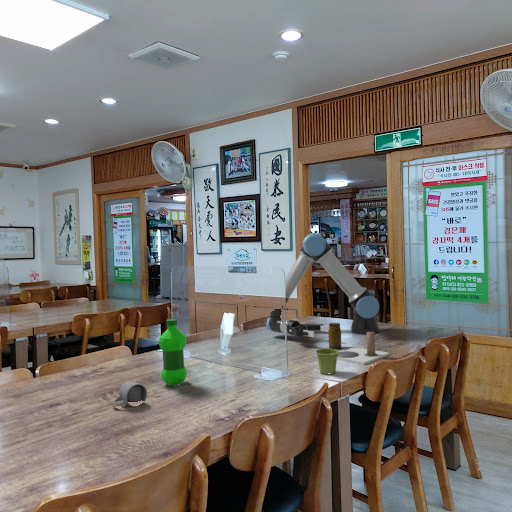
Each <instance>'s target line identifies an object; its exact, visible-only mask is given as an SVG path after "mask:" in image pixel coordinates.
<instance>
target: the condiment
mask: <svg viewBox="0 0 512 512" xmlns="http://www.w3.org/2000/svg"><path fill="white" fill-rule="evenodd" d="M328 327H329V330H328V332H327V333H328V335H327V336H328V347H325V349H335V350H338V351H344V350H347V349H348V347H345V346H342V330H341V323H340V322H330V323H329V324H328Z"/></svg>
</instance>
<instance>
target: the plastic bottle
mask: <svg viewBox="0 0 512 512" xmlns="http://www.w3.org/2000/svg"><path fill="white" fill-rule="evenodd" d="M165 325H166V326H167V329H166V330H164V332H163V333H162V334H161V336H159V339H158V346H159V348H160V349H161V350H162V358H163V359H162V363H163V369H162V372H161V380H162V381H163V383H165V384H166V385H168V386H169V385H178V384H181V385H182V384H183V383H184V382H185V380H186V378H187V375H188V371H187V368H186V366H185V360H184V359H185V356H184V355H185V354H184V348H185V347H186V345H187V336H186V335H185V333H183V332H182V331H181V330H180V329H178V328H177V325H178V319H177V318H169V319H166V320H165ZM178 386H179V385H178Z"/></svg>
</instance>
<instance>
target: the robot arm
mask: <svg viewBox="0 0 512 512" xmlns="http://www.w3.org/2000/svg"><path fill="white" fill-rule="evenodd" d="M313 261H314V262H315V263H318V264H320V266H322V267H323V268H324V270H325V272H327V274H328V275H329V277H331V278H332V280H334V282H335V283H336V284H337V285H338V286H339V288H340V289H341V290H342V292H344V293H345V295H346V296H347V297H348V303H349V304H350V306H352V307H353V321H352V323H351V327H350V329H351V330H350V331H351V333H354V334H359V335H360V334H361V335H367V332H375V334H376V333H380V326H379V323H378V321H377V318H376V317H377V316H376V315H377V314H378V313H379V310H380V303H379V301H378V299H377V298H376V292H375V290H374V289H368V288H367V287H363V286H362V285H360V284H359V282H358V281H357V279H356V278H354V276H353V275H352V274H351V272H350V271H348V269H347V268H346V267H345V266H344V264H343V263H342V262H341V261H340V260H339V259H338V258H337V256H336V255H335V254H334V253H333V247H332V246H331V245H330V244H329V243H328V241H327V240H326V239H325V237H324V236H323V235H322V234H319V232H318V233H317V232H311V233H309V234H307V235H306V236H305V237H304V239H303V240H302V246H301V248H300V250H299V255H298V257H297V259H296V260H295V262H294V264H293V266H292V267H291V268H290V270H289V272H288V274H287V276H286V277H285V279H284V280H285V283H286V304H287V303H288V301H289V300H290V298H291V296H292V295H293V293H294V291H295V290H296V288H297V286H298V285H299V283H300V281H301V280H302V278H303V276H305V273H306V271H307V270H308V268H309V267H310V265H311V263H312V262H313ZM282 308H283V306H282ZM281 312H282V311H281V309H275V310H274V311H272V312H270V311H269V313H270V315H269V317H268V318H267V319H266V322H265V326H266V329H267V330H268V331H270V332H273V333H282V334H284V333H283V332H284V329H283V326H282V322H281V318H280V315H281ZM285 319H286V325H287V335H286V336H288V335H292V336H296V337H300V338H303V337H310V338H315V331H320V332H325V333H326V332H327V333H328V330H329V325H324V324H323V323H320V324H319V323H317V324H315V323H314V324H313V323H305V324H304V323H300V322H299V320H294V319H287V318H285Z"/></svg>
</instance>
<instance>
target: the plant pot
mask: <svg viewBox="0 0 512 512" xmlns="http://www.w3.org/2000/svg"><path fill="white" fill-rule="evenodd" d="M339 352H340V350H335V349H327V348H319V349H316V350H315V354H316V357H317V362H318V363H317V364H318V369H319V373H320V374H322V373H323V374H322V375H325V374H328V373H334V372H335V373H336V369H337V363H338V362H337V356H338V353H339ZM335 373H334V374H335Z"/></svg>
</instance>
